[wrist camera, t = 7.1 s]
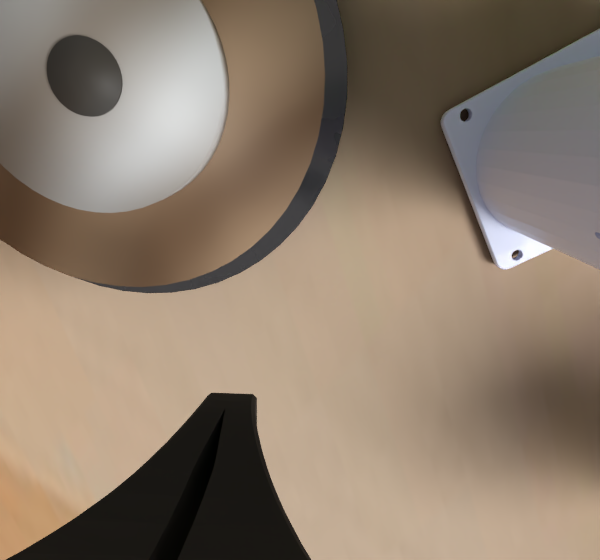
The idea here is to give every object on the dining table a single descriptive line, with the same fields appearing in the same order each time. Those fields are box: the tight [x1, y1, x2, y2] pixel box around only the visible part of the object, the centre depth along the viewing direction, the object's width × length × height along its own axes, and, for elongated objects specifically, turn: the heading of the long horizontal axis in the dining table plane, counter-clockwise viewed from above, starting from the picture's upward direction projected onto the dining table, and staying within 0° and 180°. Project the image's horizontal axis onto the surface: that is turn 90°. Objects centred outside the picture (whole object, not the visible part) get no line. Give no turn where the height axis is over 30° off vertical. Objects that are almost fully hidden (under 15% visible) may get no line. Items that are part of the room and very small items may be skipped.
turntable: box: [0, 0, 325, 287], centre depth 14 cm, size 16×16×4 cm
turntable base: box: [75, 0, 347, 293], centre depth 17 cm, size 18×18×1 cm
